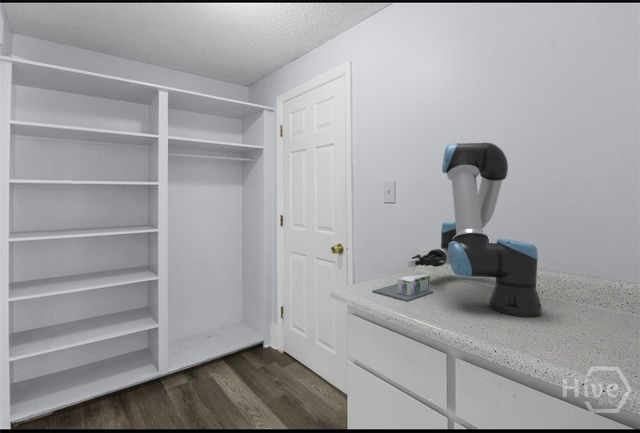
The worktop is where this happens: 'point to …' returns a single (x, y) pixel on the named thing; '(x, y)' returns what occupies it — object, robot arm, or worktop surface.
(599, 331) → the worktop surface
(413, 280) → the syrup box
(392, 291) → the mat
